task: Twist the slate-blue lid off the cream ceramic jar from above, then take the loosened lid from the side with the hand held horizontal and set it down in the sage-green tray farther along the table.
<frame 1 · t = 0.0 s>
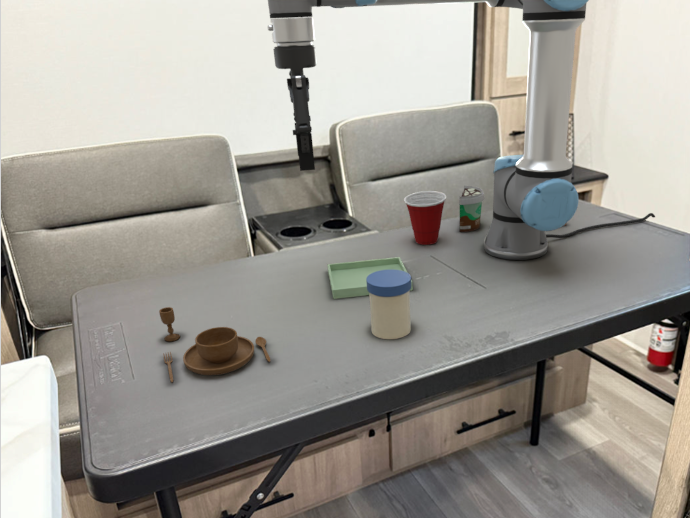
hand: (306, 162, 118), 28 cm above the table, tool pointing down, fingers open, 13 cm apart
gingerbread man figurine: (548, 226, 165), on the table
tray: (368, 281, 134), on the table
place setting: (216, 351, 108), on the table
plastic cup: (425, 242, 157), on the table
food container: (472, 227, 166), on the table
jar: (391, 329, 113), on the table
lid: (388, 279, 109), point 10 cm above the table, screwed on, not yet turned
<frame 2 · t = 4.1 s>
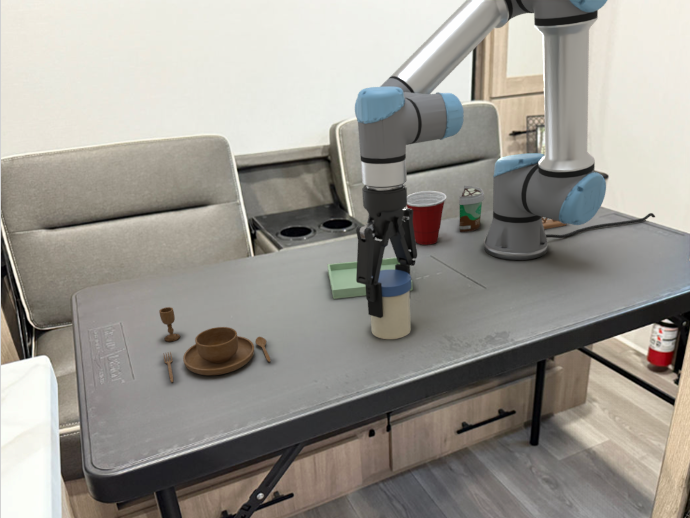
hand: (390, 306, 111), 5 cm above the table, tool pointing down, fingers closed on lid, 8 cm apart
lid: (388, 279, 109), point 10 cm above the table, screwed on, not yet turned, touching gripper
everything else where it was.
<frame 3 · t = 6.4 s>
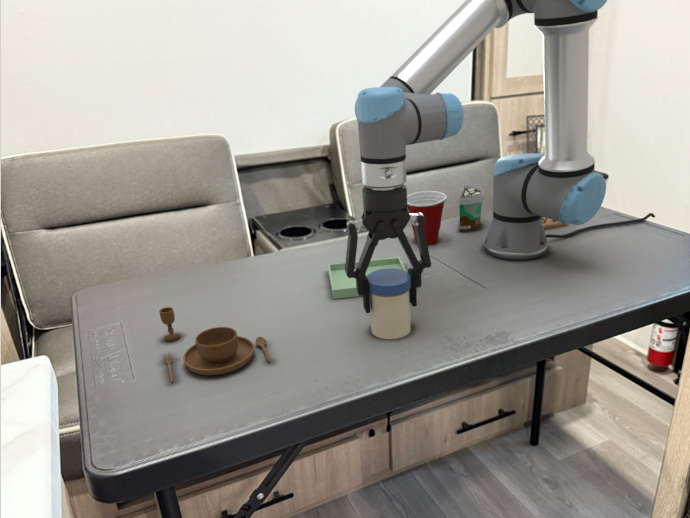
hand: (390, 306, 111), 5 cm above the table, tool pointing down, fingers closed on lid, 8 cm apart
lid: (388, 278, 109), point 10 cm above the table, off its thread, touching gripper
everything else where it was.
when the fingers open (5 cm above the table, at t = 7.3 s): lid stays where it is, resting on jar.
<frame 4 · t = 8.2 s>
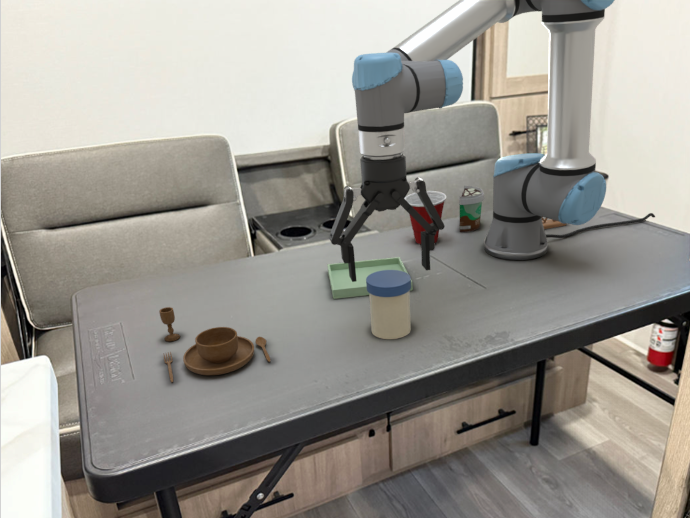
hand: (390, 273, 108), 11 cm above the table, tool pointing down, fingers open, 13 cm apart
jar: (391, 329, 113), on the table, touching lid
lid: (388, 280, 109), point 10 cm above the table, off its thread, touching jar
everything else where it was.
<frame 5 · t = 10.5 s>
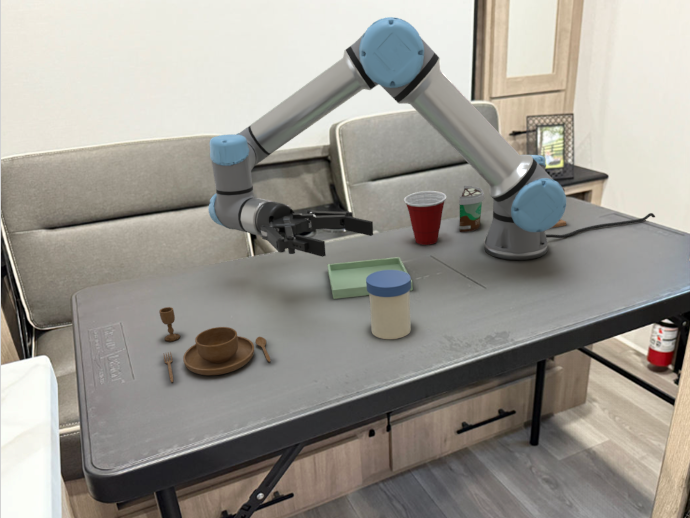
hand: (348, 238, 111), 16 cm above the table, tool horizontal, fingers open, 13 cm apart
nothing on the table moved.
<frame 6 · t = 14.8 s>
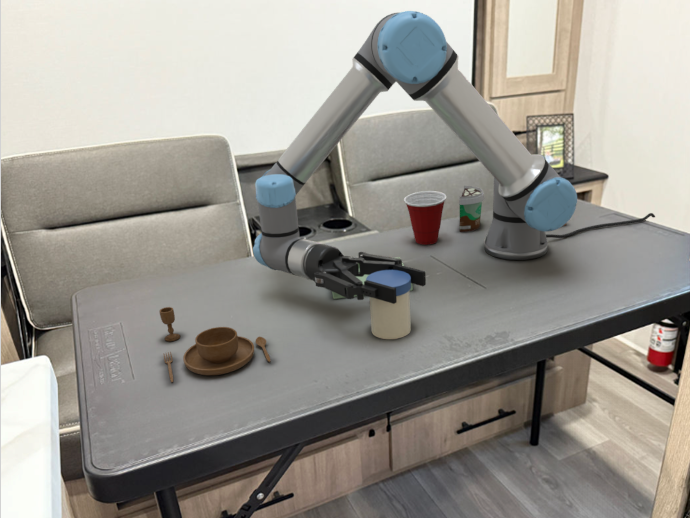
hand: (410, 287, 106), 10 cm above the table, tool horizontal, fingers closed on lid, 8 cm apart
lid: (388, 280, 109), point 10 cm above the table, off its thread, touching gripper, jar
everything else where it was.
when the fingers open (4 cm above the table, at t = 23.6 s): lid drops 2 cm, resting on tray.
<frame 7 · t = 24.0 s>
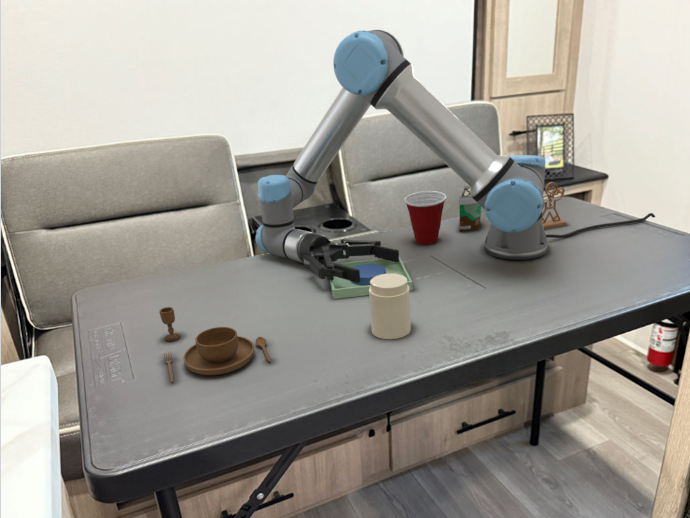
hand: (379, 266, 131), 4 cm above the table, tool horizontal, fingers open, 13 cm apart
jar: (391, 329, 113), on the table
lid: (367, 272, 134), point 2 cm above the table, off its thread, touching tray
everything else where it was.
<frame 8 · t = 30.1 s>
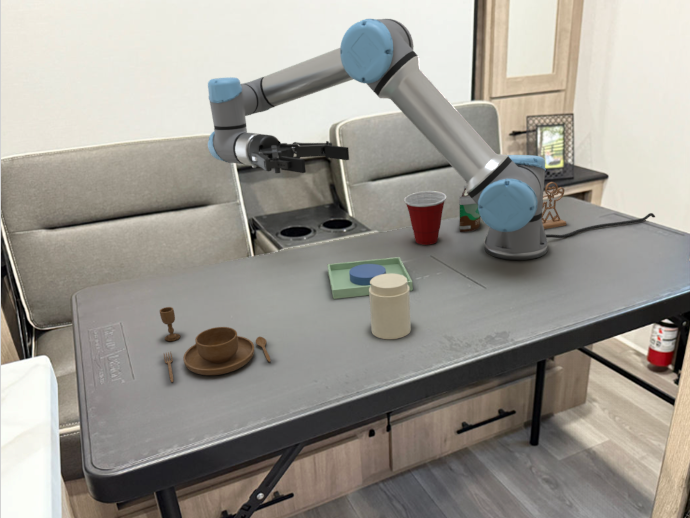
hand: (326, 159, 129), 26 cm above the table, tool horizontal, fingers open, 13 cm apart
nothing on the table moved.
at the end: lid inside the target area in the tray (0.2 cm from its centre), point 2.1 cm above the tray's base; lid point 2.1 cm above the table; the gripper is holding nothing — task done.
